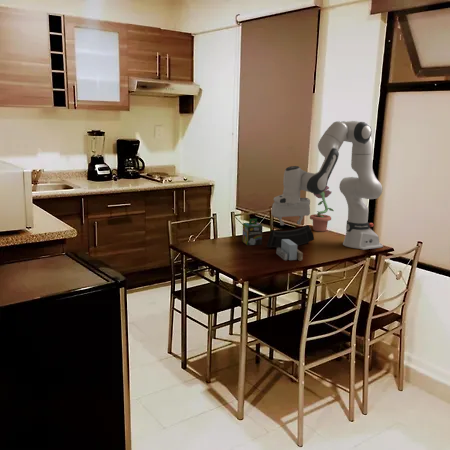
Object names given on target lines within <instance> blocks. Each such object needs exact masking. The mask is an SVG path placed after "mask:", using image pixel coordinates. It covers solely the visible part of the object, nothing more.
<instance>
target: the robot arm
mask: <svg viewBox="0 0 450 450" xmlns="http://www.w3.org/2000/svg"><path fill="white" fill-rule="evenodd" d="M344 142H346V143H351V144H352V147H351V161H350V162H351V163H350V166H351V169H352V170H353V171H354V172H355V173H356V175H357V177H355V176H347V177H344V178H342V179H341V181H340V182H339V187H338V188H339V191H340V193H341V194H342V195H343V197H344V198H345V201H346V204H347V220H346V225H345V227H346V231H345V237H344V239H343V242H342V245H343V246H345V247H346V248H352V249H358V250H359V249H360V250H363V251H364V250H369V249H370V250H371V249H379V248H383V247H384V244H383V243H382V242H380V238H379V235H378V234H377V233H376V232H375V231H374V230H373V229H372V227H373V228H374V223H373V222H368V220H369V213H370V212H369V207H368V206H367V205H366V204H365V203H364V201H363V199H366V200H374V199H375V200H377V199H379V198H380V196H381V195H382V194H383V186H382V183H381V182H380V181H379V180H378V178H377V176H376V175H375V172H374V169H373V150H374V149H373V140H372V126H371V125H370V124H369V123H368V122H365V121H357V120H349V121H345V120H344V121H339V120H338V121H334V122H332V124H330V126H329V127H327V129H326V130H325V131H324V133H323V135H321V137H320V139H319V140H318V143H317V148H318V152H319V153H320V155H322V156H323V157H324V160H323V162H322V165H321V167H320V168H319V170H318V171H317V172H315V173H313V172H308V171H306V170H304V169H302V168H301V167H300V166H297V165H291V166H289V167H286V168H285V170H284V172H283V181H282V183H283V184H282V185H283V190H282V194H280V195H277V196H274V197H273V203H272V206H271V212H270V213H271V216H272V217H274V218H277V219H278V221H279V226H284V225H285V222H284V221H283V218H286V217H287V218H288V217H299V219H297V221H296V224H297V225H302V221H303V219H304V217H305V216H306V217H307V216H310V214H311V206H310V205H311V199H310V198H308V197H301V192H302V191H304V192H308V193H311V194H312V195H314V194H320V193H322V192H323V191H324V190H325V189H326V186H328V181H329V179H330V177H331V174H332V173H333V170H334V168H335V166H336V165H337V162H338V159H339V156H340V154H339V151H340V149H341V147H342V145H343V143H344Z"/></svg>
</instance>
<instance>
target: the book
mask: <svg viewBox="0 0 450 450" xmlns="http://www.w3.org/2000/svg"><path fill="white" fill-rule="evenodd" d="M280 248H281V249H282V250H283V251H285V252H286V253H287V254H288V255H287V261H288V260H289V261H297V260H298V259H297V249H298V246H297V244H295V243H294V242H292V241H291V240H289V239H282V242H281V247H280Z"/></svg>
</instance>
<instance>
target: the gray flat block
mask: <svg viewBox="0 0 450 450" xmlns="http://www.w3.org/2000/svg"><path fill="white" fill-rule="evenodd" d="M275 253H276V255H277V256H278V257H280V258H281V259H282V260H283V261H288V259H287V255H288V254H287V253H286V252H285V251H283V250H282V249H281V247H276V252H275Z"/></svg>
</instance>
